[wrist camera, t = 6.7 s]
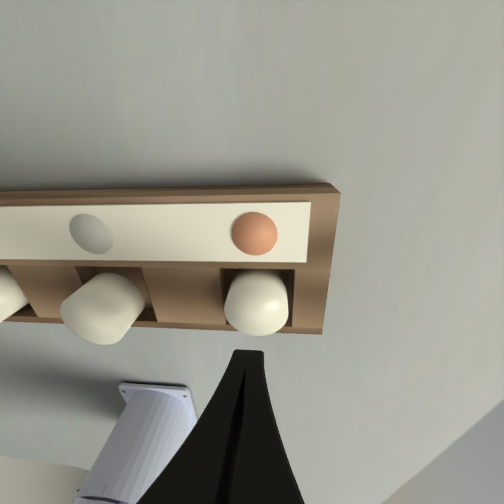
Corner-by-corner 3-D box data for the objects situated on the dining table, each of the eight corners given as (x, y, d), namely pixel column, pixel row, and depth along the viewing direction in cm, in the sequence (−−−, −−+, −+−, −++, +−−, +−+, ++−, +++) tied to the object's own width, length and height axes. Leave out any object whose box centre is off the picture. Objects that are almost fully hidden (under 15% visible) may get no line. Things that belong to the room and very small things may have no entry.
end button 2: (285, 310, 17) (287, 337, 15) (233, 309, 18) (227, 334, 15) (287, 264, 15) (289, 286, 13) (228, 264, 16) (221, 285, 14)
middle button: (150, 318, 17) (131, 346, 15) (100, 316, 17) (75, 343, 15) (136, 272, 15) (112, 296, 13) (80, 271, 16) (48, 294, 13)
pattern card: (305, 260, 14) (306, 263, 13) (-65, 257, 16) (-71, 259, 16) (310, 201, 12) (311, 202, 12) (-103, 207, 15) (-110, 209, 14)
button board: (316, 310, 18) (321, 334, 16) (-1, 300, 21) (-33, 319, 19) (330, 183, 14) (340, 193, 12) (-74, 193, 17) (-127, 201, 15)
